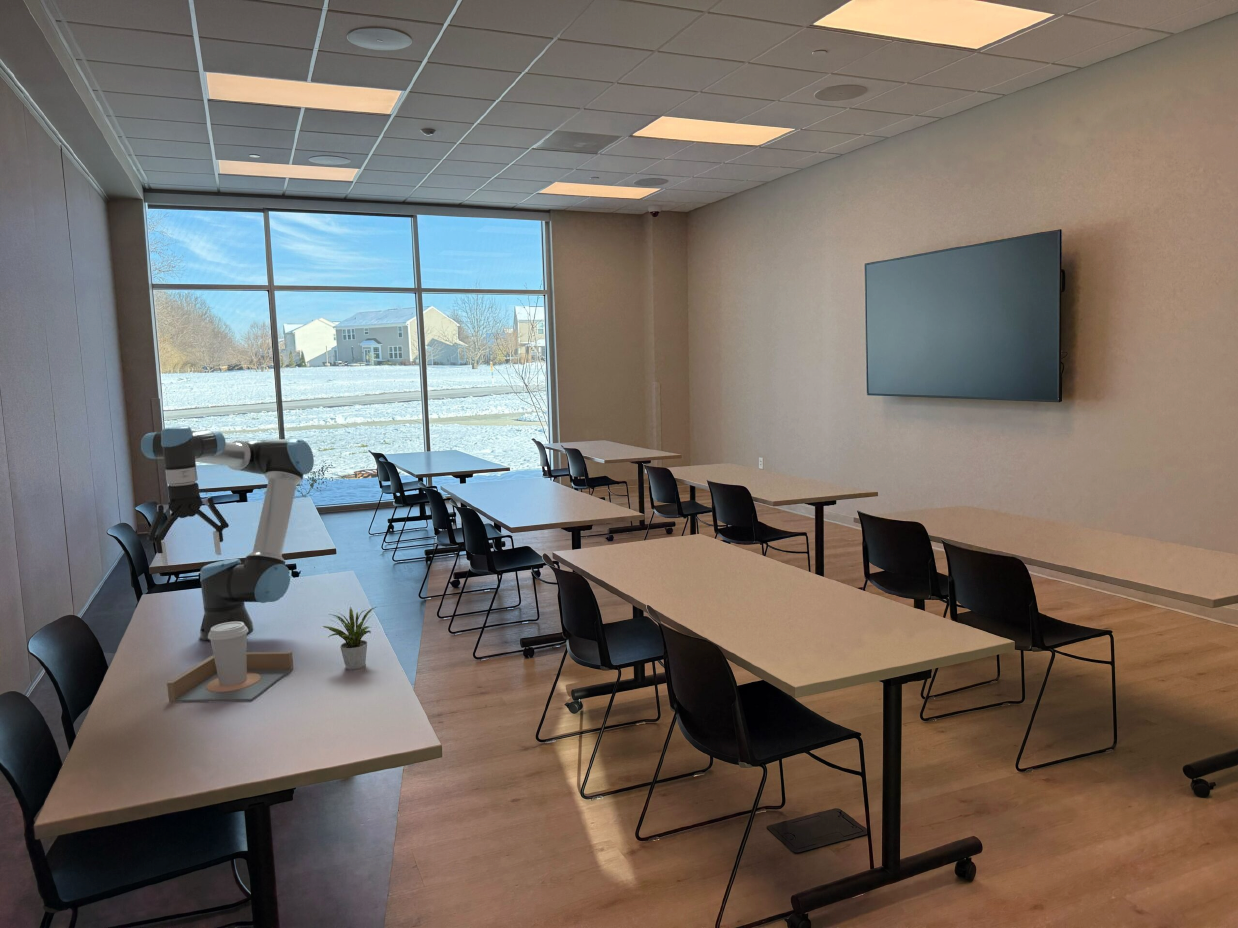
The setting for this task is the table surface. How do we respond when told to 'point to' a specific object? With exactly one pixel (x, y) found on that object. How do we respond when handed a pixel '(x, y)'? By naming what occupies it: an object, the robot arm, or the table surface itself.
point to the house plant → (352, 640)
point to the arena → (206, 687)
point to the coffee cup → (230, 652)
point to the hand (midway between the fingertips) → (192, 559)
